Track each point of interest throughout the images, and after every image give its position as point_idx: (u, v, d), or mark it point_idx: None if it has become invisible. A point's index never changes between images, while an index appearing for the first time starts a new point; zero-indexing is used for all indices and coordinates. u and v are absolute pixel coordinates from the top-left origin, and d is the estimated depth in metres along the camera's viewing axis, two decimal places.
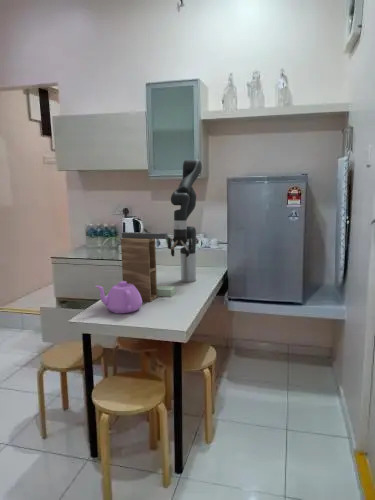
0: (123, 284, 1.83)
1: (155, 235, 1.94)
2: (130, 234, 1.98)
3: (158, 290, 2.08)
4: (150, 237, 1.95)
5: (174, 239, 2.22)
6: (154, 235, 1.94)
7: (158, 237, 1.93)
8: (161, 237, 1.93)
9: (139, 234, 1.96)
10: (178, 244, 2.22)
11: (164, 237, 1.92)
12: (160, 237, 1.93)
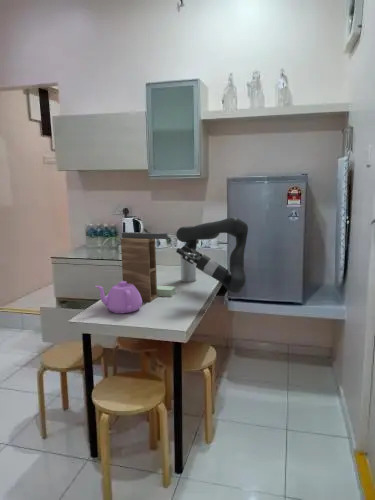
0: (123, 284, 1.83)
1: (155, 235, 1.94)
2: (130, 234, 1.98)
3: (158, 290, 2.08)
4: (150, 237, 1.95)
5: None
6: (154, 235, 1.94)
7: (158, 237, 1.93)
8: (161, 237, 1.93)
9: (139, 234, 1.96)
10: None
11: (164, 237, 1.92)
12: (160, 237, 1.93)
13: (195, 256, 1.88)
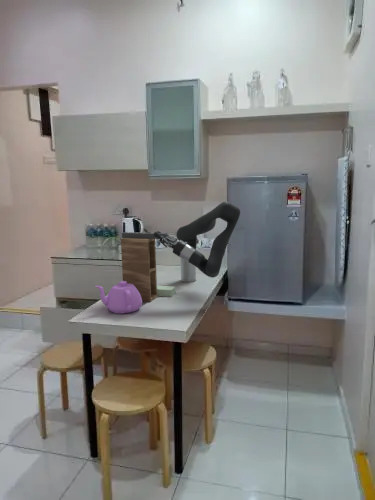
0: (123, 284, 1.83)
1: None
2: (130, 234, 1.98)
3: (158, 290, 2.08)
4: (150, 237, 1.95)
5: None
6: None
7: None
8: None
9: (139, 234, 1.96)
10: None
11: None
12: None
13: (171, 241, 1.91)
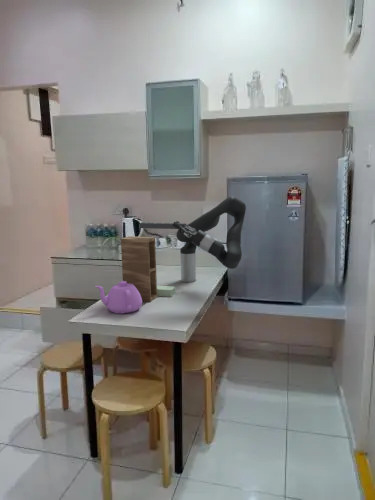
0: (123, 284, 1.83)
1: None
2: (148, 224, 1.96)
3: (158, 290, 2.08)
4: (169, 227, 1.92)
5: None
6: None
7: None
8: None
9: (157, 224, 1.94)
10: None
11: None
12: None
13: (191, 231, 1.88)
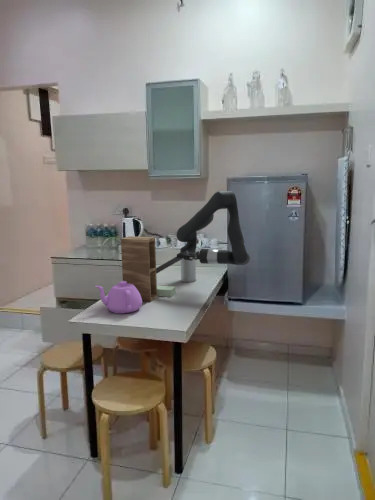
0: (123, 284, 1.83)
1: None
2: (157, 268, 2.08)
3: (158, 290, 2.08)
4: (175, 261, 2.04)
5: (196, 259, 1.98)
6: None
7: None
8: None
9: (165, 264, 2.06)
10: None
11: None
12: None
13: (194, 254, 1.99)
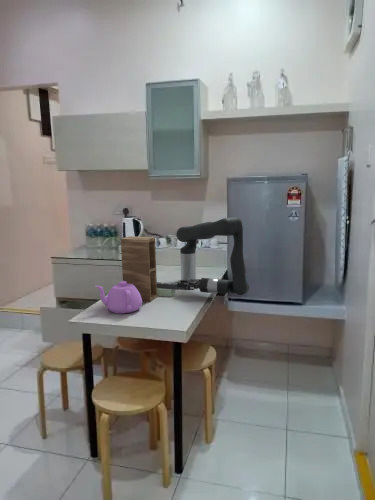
0: (123, 284, 1.83)
1: None
2: None
3: (158, 290, 2.08)
4: (175, 288, 2.07)
5: None
6: None
7: (183, 288, 2.05)
8: None
9: (165, 285, 2.08)
10: None
11: None
12: None
13: (195, 283, 2.02)
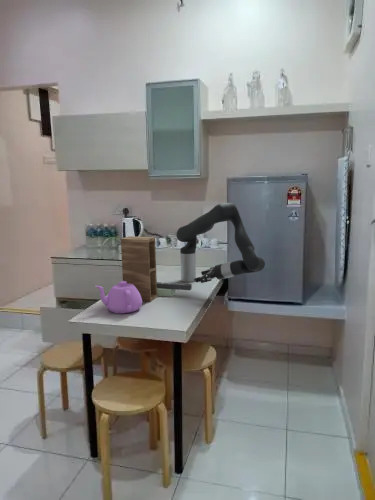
0: (123, 284, 1.83)
1: (180, 286, 2.06)
2: None
3: (158, 290, 2.08)
4: (175, 288, 2.07)
5: None
6: (179, 286, 2.06)
7: (183, 288, 2.05)
8: (186, 288, 2.05)
9: (165, 285, 2.08)
10: None
11: (189, 288, 2.04)
12: (185, 288, 2.05)
13: (210, 272, 1.96)
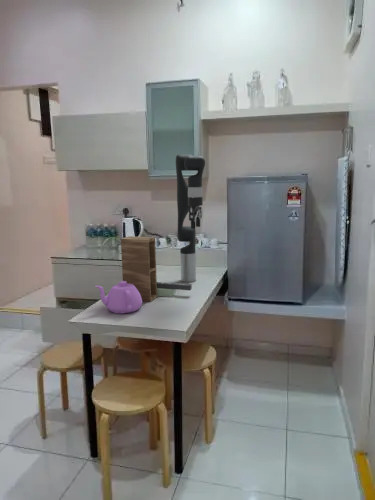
0: (123, 284, 1.83)
1: (180, 286, 2.06)
2: None
3: (158, 290, 2.08)
4: (175, 288, 2.07)
5: (195, 209, 1.98)
6: (179, 286, 2.06)
7: (183, 288, 2.05)
8: (186, 288, 2.05)
9: (165, 285, 2.08)
10: None
11: (189, 288, 2.04)
12: (185, 288, 2.05)
13: None
